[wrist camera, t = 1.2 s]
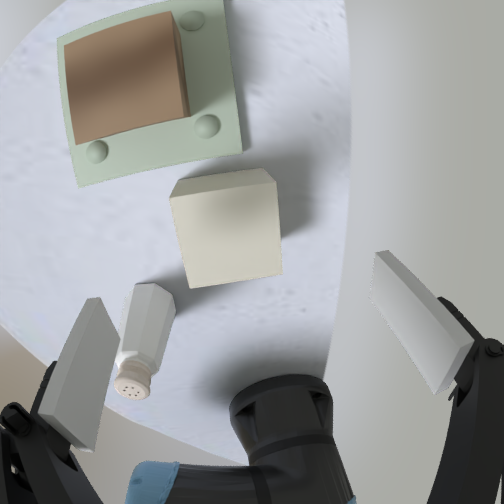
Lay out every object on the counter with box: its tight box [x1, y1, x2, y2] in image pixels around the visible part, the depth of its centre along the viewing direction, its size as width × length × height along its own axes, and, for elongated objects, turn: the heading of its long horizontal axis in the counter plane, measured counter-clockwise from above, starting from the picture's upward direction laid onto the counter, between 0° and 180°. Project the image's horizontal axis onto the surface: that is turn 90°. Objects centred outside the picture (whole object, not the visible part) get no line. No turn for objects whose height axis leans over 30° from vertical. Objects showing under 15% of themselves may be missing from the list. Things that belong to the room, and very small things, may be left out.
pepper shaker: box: [114, 283, 176, 400], centre depth 23 cm, size 5×5×11 cm
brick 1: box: [64, 11, 191, 145], centre depth 15 cm, size 7×7×6 cm
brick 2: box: [169, 168, 283, 289], centre depth 22 cm, size 7×7×6 cm
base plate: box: [57, 0, 243, 189], centre depth 18 cm, size 14×14×1 cm
